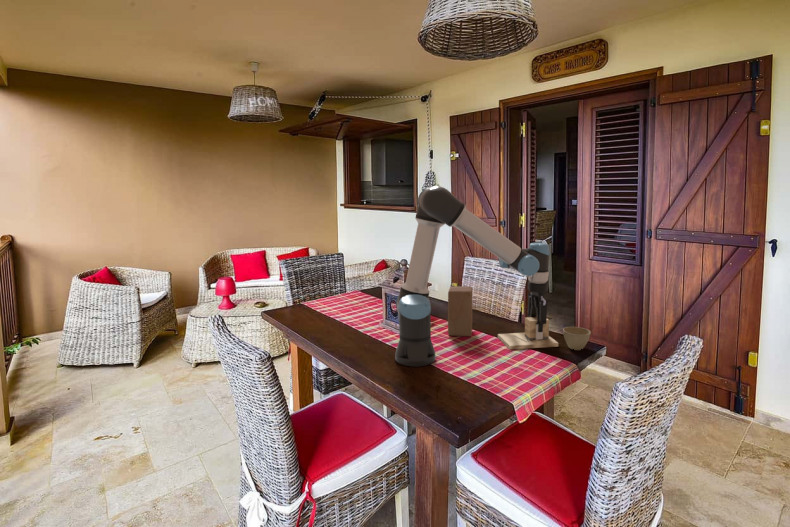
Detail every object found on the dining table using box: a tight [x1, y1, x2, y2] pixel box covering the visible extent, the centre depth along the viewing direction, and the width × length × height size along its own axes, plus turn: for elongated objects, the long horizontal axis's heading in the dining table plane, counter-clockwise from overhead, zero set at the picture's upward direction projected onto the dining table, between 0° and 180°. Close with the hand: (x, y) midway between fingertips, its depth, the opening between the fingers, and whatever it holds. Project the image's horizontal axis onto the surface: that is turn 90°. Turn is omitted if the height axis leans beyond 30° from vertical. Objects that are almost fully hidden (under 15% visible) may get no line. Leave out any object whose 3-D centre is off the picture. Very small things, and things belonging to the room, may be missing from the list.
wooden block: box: [447, 285, 473, 337], centre depth 193 cm, size 10×10×20 cm
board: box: [497, 332, 559, 350], centre depth 182 cm, size 20×14×2 cm
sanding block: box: [524, 316, 550, 340], centre depth 181 cm, size 8×5×8 cm, turn 96°
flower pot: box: [562, 326, 592, 351], centre depth 174 cm, size 10×10×7 cm
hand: (536, 336), depth 182 cm, fingers closed on sanding block, 5 cm apart
